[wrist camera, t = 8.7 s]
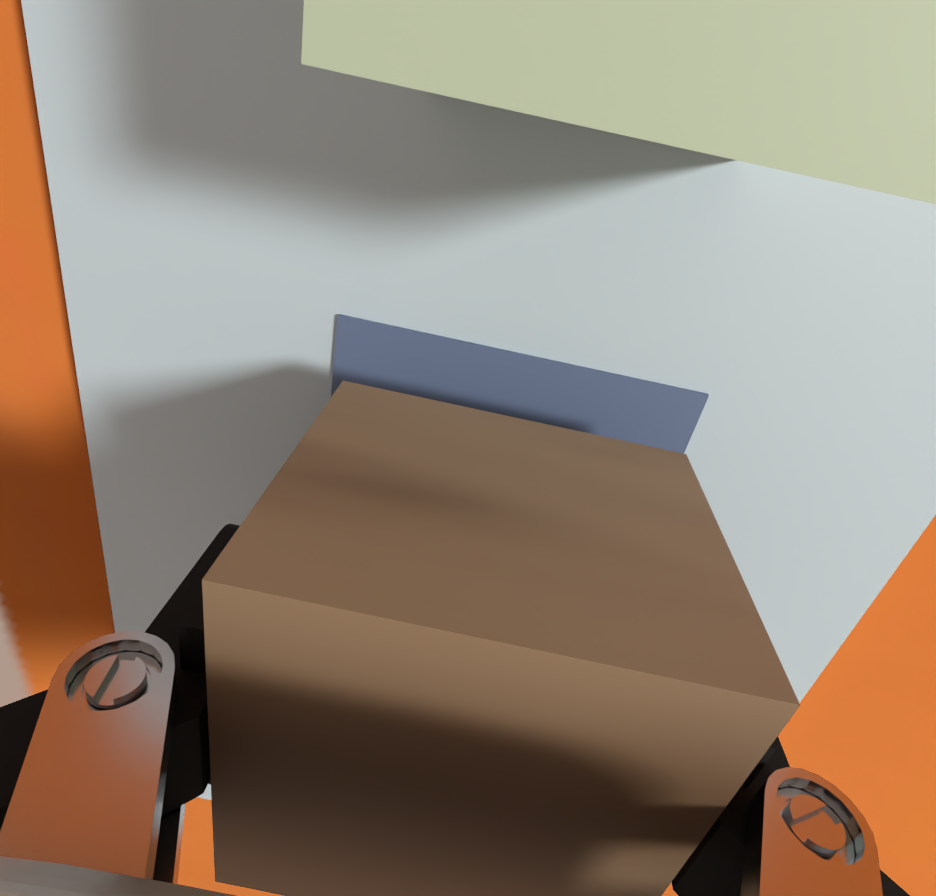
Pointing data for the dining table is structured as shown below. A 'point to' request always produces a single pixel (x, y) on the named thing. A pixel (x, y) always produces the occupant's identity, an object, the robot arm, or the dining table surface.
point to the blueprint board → (467, 300)
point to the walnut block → (477, 662)
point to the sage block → (674, 73)
